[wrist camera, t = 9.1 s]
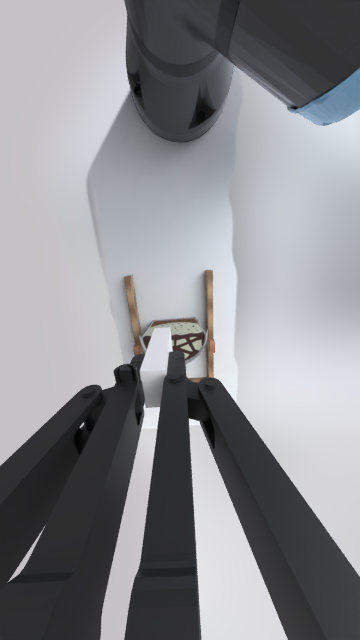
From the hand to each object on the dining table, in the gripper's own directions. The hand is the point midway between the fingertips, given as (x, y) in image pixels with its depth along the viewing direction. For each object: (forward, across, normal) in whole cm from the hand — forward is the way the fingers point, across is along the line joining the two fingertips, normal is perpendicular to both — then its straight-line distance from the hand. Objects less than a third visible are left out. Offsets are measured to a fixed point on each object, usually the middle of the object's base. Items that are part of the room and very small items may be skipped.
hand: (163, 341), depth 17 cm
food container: (+22, 0, -9) cm, 24 cm away
